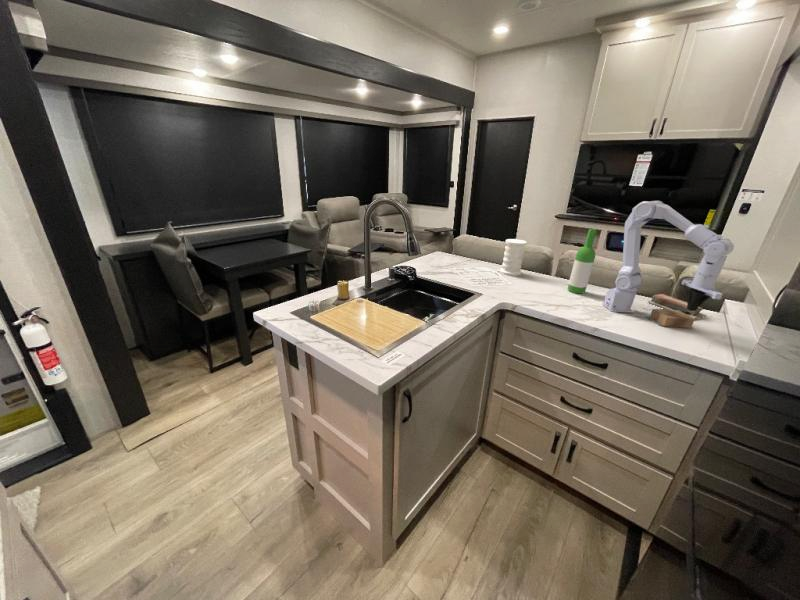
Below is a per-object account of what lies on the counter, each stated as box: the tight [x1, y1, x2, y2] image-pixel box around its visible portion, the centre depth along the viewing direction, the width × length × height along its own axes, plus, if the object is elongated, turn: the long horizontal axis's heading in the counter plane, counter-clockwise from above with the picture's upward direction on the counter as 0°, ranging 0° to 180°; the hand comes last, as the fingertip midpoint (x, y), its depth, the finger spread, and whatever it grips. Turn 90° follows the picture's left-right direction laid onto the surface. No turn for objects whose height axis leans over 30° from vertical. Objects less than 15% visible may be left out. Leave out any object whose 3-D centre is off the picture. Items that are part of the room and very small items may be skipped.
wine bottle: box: [567, 228, 597, 295], centre depth 145 cm, size 8×8×30 cm
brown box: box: [649, 308, 696, 329], centre depth 121 cm, size 10×4×8 cm
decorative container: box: [499, 238, 528, 277], centre depth 172 cm, size 12×12×18 cm
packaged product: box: [647, 293, 708, 320], centre depth 134 cm, size 18×5×10 cm
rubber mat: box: [646, 315, 664, 327], centre depth 123 cm, size 12×8×1 cm, turn 86°
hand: (691, 309), depth 113 cm, fingers closed
